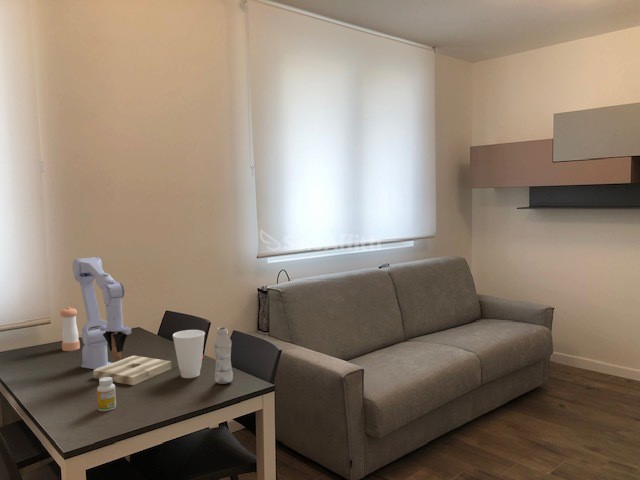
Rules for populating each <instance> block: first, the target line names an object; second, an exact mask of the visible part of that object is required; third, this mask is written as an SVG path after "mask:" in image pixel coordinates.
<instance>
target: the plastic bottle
mask: <svg viewBox="0 0 640 480" xmlns="http://www.w3.org/2000/svg"><path fill="white" fill-rule="evenodd" d="M216 335H217V336H216V337H215V338H214V340H213V348H214V354H215V355H214V357H215V372H214V379H215V382H216V383H217V384H219V385H224V384H225V385H226V384H230V383H231V382H232V381H233V377H234V373H233V368H232V362H231V361H232V360H231V355H232V354H231V353H232V340H231V338H230V336H228V327H223V326H221V327H217V328H216Z"/></svg>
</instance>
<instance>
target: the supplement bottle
mask: <svg viewBox="0 0 640 480" xmlns="http://www.w3.org/2000/svg"><path fill="white" fill-rule="evenodd" d="M98 382H99V383H98V385H99V386H97V389H96V396H97V407H98V408H97V409H98V411H100V412H109V411H112V410H114V409H116V407H117V400H116V399H117V398H116V397H117V394H116V385H115V384H114V383H113V380H112V377H104V378H101V379H98Z"/></svg>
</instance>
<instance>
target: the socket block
mask: <svg viewBox="0 0 640 480" xmlns="http://www.w3.org/2000/svg"><path fill="white" fill-rule="evenodd" d="M111 363H112V364H109V365H106V366H103V367H101V368H98V369H92V370H93V371H92V372H93V378H94V379H98V380H99V379H101V378H104V377H112V380H113V382H114V383H119V384H125V385H130V386H135V385H138V384H140V383H142V382H145V381H146V380H149V379H151V378H153V377H156V376H157V375H160V374H163V373H165V372H167V371H170V370H172V361H171V360H165V359H158V358H152V357H146V356H140V355H131V356H128V357H125V358H123V359H122V358H121V359H119V360H116V361H115V362H111ZM113 382H112V383H113Z"/></svg>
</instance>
